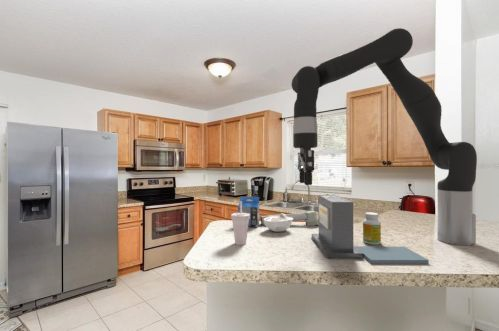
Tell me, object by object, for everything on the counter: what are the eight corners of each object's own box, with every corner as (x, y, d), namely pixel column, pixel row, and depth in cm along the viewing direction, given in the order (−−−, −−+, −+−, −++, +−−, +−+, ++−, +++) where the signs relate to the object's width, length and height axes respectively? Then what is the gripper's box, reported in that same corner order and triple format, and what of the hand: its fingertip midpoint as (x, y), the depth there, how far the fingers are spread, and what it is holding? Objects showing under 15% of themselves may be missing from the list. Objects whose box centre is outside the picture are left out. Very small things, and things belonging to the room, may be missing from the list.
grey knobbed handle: (260, 214, 115) (316, 207, 113) (262, 229, 115) (318, 222, 113) (260, 217, 110) (318, 209, 108) (262, 232, 110) (321, 225, 108)
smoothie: (253, 241, 88) (253, 200, 88) (245, 247, 82) (244, 203, 82) (236, 239, 90) (236, 199, 90) (227, 244, 85) (227, 202, 85)
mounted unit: (339, 237, 91) (339, 194, 91) (363, 258, 71) (363, 203, 71) (311, 237, 92) (311, 194, 91) (327, 258, 72) (326, 203, 71)
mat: (404, 249, 78) (404, 246, 78) (428, 263, 67) (428, 260, 67) (354, 249, 79) (354, 246, 79) (370, 263, 68) (370, 259, 68)
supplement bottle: (373, 245, 82) (373, 215, 82) (359, 241, 87) (359, 212, 87) (384, 243, 85) (384, 214, 85) (370, 239, 90) (370, 211, 90)
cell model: (259, 229, 104) (259, 212, 104) (284, 226, 109) (284, 210, 109) (270, 235, 95) (270, 217, 95) (298, 232, 99) (298, 214, 99)
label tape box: (237, 226, 109) (237, 197, 109) (239, 224, 113) (239, 196, 113) (257, 227, 107) (257, 198, 107) (259, 225, 111) (259, 196, 111)
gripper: (322, 129, 74) (323, 185, 74) (312, 135, 88) (312, 182, 89) (296, 130, 74) (297, 185, 75) (290, 135, 89) (290, 182, 89)
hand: (305, 183), depth 82 cm, fingers open, 8 cm apart
